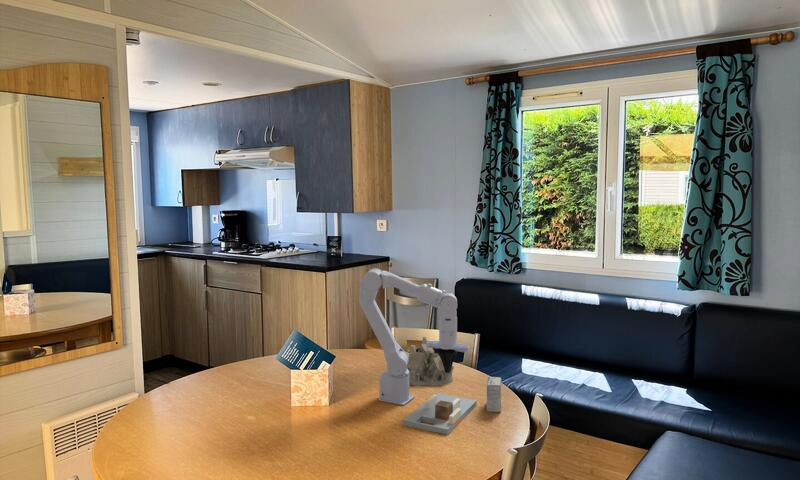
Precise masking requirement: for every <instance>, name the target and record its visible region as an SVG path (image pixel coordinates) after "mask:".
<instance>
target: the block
mask: <svg viewBox="0 0 800 480" xmlns="http://www.w3.org/2000/svg"><path fill="white" fill-rule="evenodd" d="M452 413H453V403H452V402H447V401H441V400H440V401H439V402H438V403H437V404H436V405H435V418H437V419H442V420H447V421H448V420H449V416H450V415H451V414H452Z"/></svg>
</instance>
